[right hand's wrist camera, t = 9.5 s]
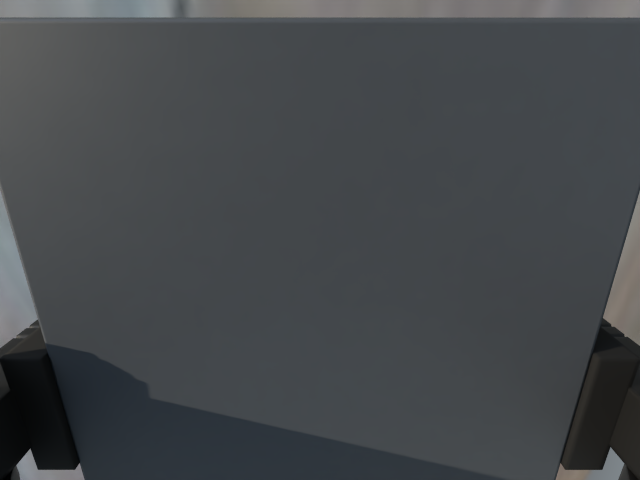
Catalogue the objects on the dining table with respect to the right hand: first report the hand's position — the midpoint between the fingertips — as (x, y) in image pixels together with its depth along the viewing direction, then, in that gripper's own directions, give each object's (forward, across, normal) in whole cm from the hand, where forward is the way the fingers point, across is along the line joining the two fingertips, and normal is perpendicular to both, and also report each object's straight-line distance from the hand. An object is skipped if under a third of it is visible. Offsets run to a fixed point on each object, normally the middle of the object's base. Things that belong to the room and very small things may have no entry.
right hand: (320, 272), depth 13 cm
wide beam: (+1, 0, -26) cm, 26 cm away
